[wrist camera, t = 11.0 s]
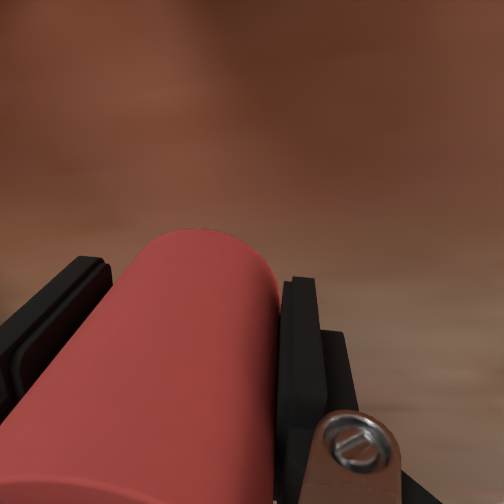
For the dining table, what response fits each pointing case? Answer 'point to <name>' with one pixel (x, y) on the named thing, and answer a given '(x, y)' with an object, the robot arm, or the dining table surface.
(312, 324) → the robot arm
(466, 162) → the dining table surface
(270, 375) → the red cylinder
